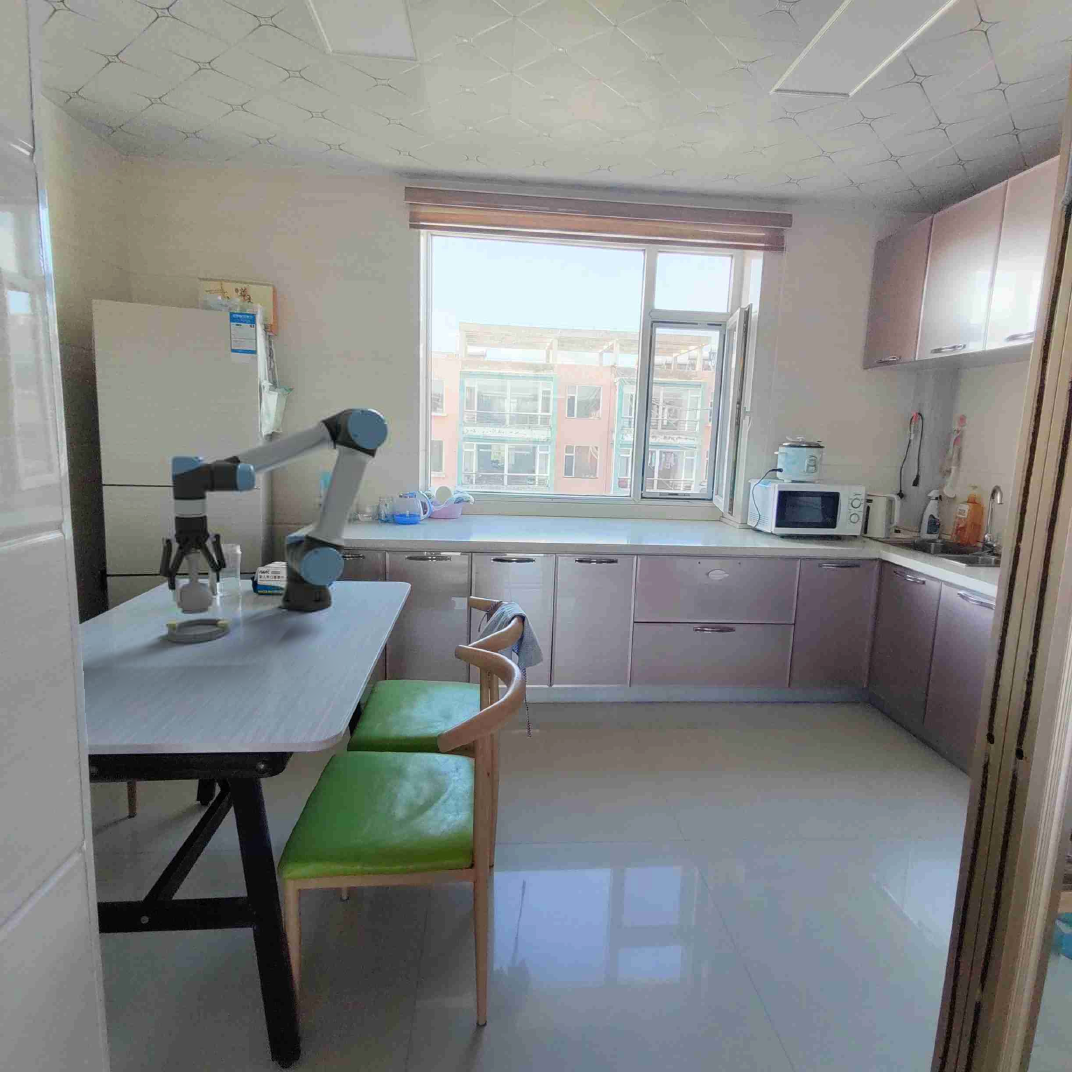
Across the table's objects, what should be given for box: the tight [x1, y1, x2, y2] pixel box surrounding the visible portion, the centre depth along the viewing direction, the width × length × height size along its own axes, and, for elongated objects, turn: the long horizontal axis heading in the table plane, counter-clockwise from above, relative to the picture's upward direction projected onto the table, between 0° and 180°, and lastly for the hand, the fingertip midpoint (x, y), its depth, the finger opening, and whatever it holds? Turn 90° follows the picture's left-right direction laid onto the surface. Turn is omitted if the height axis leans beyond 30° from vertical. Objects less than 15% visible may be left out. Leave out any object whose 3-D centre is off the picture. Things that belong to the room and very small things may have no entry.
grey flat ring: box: [165, 617, 230, 644], centre depth 167 cm, size 15×15×3 cm
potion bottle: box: [176, 548, 215, 615], centre depth 164 cm, size 9×9×18 cm
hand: (195, 597), depth 165 cm, fingers closed on potion bottle, 9 cm apart
